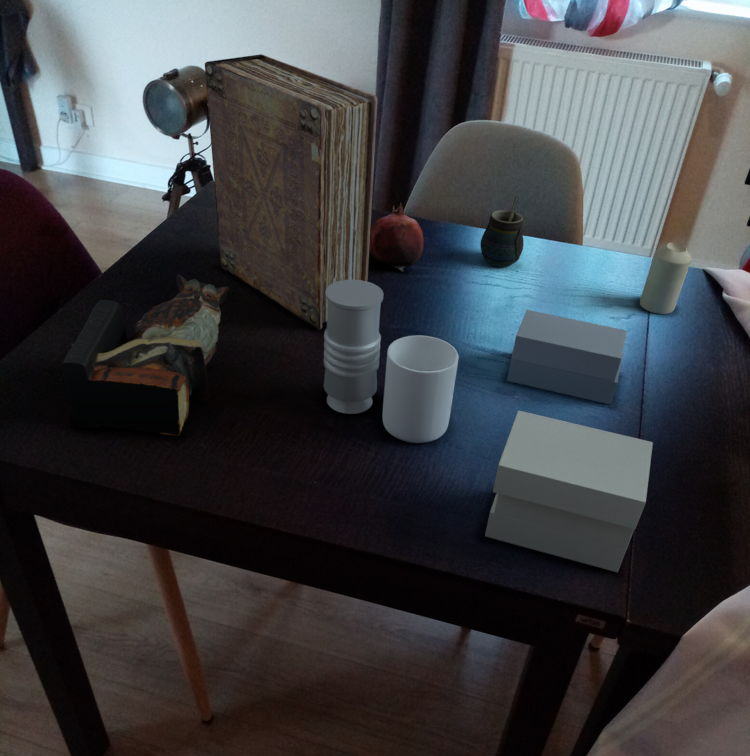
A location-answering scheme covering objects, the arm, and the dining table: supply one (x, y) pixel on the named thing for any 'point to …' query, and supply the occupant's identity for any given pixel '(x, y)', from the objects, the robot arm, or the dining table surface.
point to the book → (291, 179)
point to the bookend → (145, 362)
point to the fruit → (396, 240)
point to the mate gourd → (503, 238)
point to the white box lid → (575, 469)
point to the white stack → (558, 532)
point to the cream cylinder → (665, 278)
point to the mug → (419, 388)
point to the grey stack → (567, 356)
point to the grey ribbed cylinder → (352, 344)
